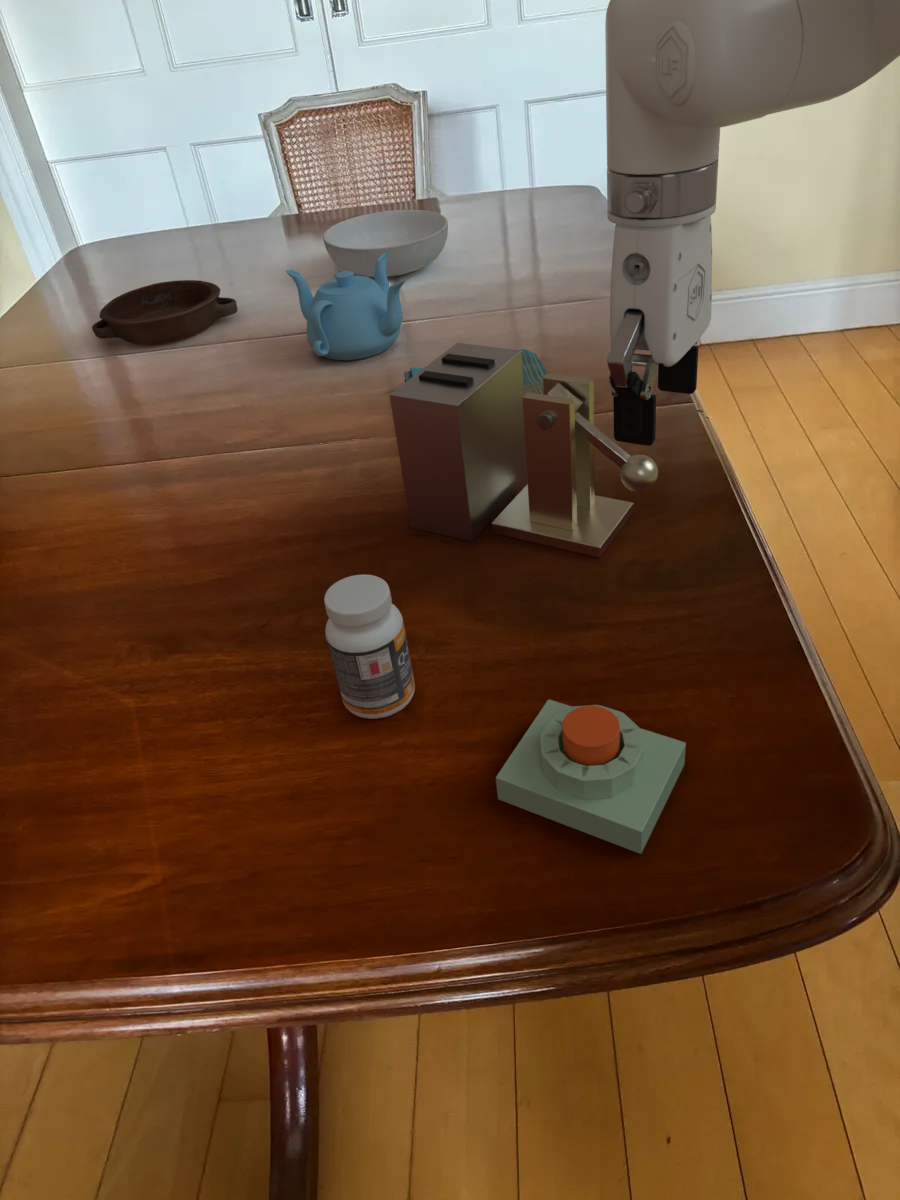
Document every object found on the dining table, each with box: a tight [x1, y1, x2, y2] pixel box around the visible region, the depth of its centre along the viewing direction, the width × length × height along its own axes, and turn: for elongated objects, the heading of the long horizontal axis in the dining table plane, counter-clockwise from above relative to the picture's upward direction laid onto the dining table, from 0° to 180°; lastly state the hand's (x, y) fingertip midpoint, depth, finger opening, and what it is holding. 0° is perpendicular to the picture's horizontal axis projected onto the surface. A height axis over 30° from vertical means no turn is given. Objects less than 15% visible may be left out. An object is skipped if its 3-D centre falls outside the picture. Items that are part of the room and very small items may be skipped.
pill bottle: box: [323, 574, 416, 720], centre depth 66 cm, size 6×6×10 cm
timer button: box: [562, 705, 620, 765], centre depth 57 cm, size 4×4×2 cm
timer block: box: [495, 698, 687, 855], centre depth 59 cm, size 10×8×4 cm
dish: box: [91, 279, 238, 345], centre depth 138 cm, size 18×22×5 cm
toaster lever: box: [547, 383, 659, 493], centre depth 78 cm, size 12×3×3 cm
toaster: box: [389, 342, 528, 543], centre depth 85 cm, size 7×12×14 cm, turn 150°
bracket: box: [491, 373, 634, 559], centre depth 81 cm, size 11×8×14 cm
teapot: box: [285, 253, 406, 361], centre depth 123 cm, size 15×15×10 cm
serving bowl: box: [322, 209, 449, 279], centre depth 150 cm, size 21×21×7 cm
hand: (656, 415), depth 73 cm, fingers open, 9 cm apart
